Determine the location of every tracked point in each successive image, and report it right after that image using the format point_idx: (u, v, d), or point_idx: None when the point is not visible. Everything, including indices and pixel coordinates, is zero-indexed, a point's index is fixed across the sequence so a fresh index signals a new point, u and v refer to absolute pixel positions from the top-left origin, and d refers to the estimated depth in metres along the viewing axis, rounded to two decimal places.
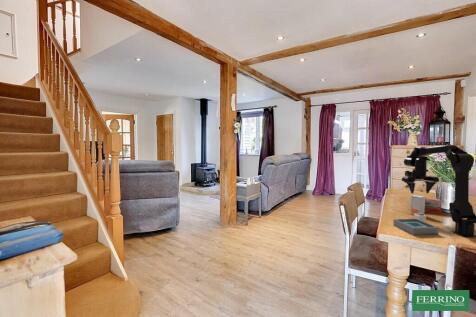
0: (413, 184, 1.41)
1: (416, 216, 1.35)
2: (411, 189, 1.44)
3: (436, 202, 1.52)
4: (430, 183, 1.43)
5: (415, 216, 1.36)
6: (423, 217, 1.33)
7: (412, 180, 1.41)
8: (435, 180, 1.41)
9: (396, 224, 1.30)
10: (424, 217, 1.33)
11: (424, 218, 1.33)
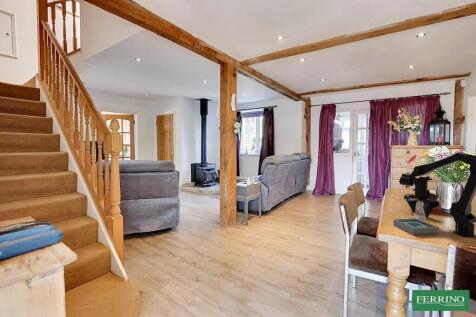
0: (407, 201, 1.40)
1: (416, 216, 1.35)
2: None
3: None
4: None
5: (415, 216, 1.36)
6: (423, 217, 1.33)
7: (406, 197, 1.41)
8: (425, 203, 1.28)
9: (396, 224, 1.30)
10: (424, 217, 1.33)
11: (424, 218, 1.33)
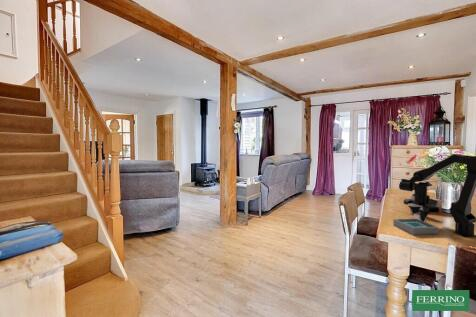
0: (410, 208, 1.38)
1: (416, 216, 1.35)
2: None
3: None
4: None
5: (415, 216, 1.36)
6: None
7: (405, 202, 1.41)
8: (424, 209, 1.28)
9: (396, 224, 1.30)
10: None
11: None
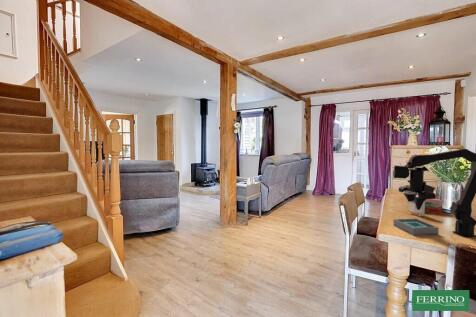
0: (405, 195, 1.29)
1: (411, 204, 1.25)
2: None
3: (437, 202, 1.51)
4: None
5: (410, 204, 1.26)
6: None
7: (400, 189, 1.32)
8: (420, 196, 1.18)
9: (396, 224, 1.30)
10: None
11: None
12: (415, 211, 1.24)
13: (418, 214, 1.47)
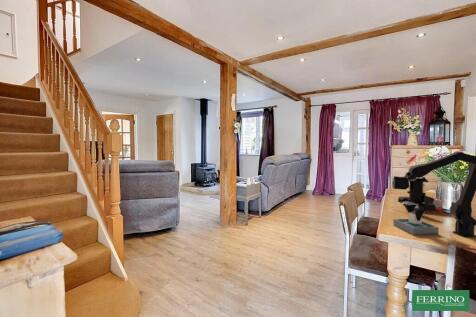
0: (405, 206, 1.28)
1: (411, 215, 1.25)
2: None
3: (437, 202, 1.51)
4: None
5: (410, 215, 1.26)
6: None
7: (400, 200, 1.31)
8: (420, 207, 1.18)
9: (396, 224, 1.30)
10: None
11: None
12: (415, 222, 1.23)
13: None
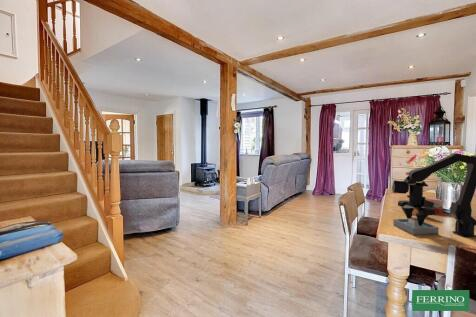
0: (403, 209, 1.30)
1: (411, 221, 1.25)
2: None
3: (437, 202, 1.51)
4: None
5: (410, 221, 1.26)
6: None
7: (400, 204, 1.31)
8: (420, 212, 1.18)
9: (396, 224, 1.30)
10: None
11: None
12: None
13: None
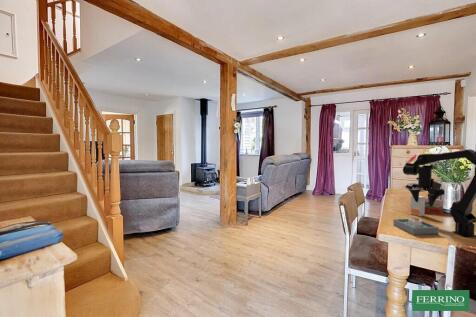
0: (410, 191, 1.39)
1: (411, 221, 1.25)
2: None
3: (438, 202, 1.51)
4: None
5: (410, 221, 1.26)
6: (418, 222, 1.23)
7: (409, 186, 1.40)
8: (430, 192, 1.26)
9: (396, 224, 1.30)
10: (419, 222, 1.23)
11: (419, 223, 1.23)
12: None
13: (418, 214, 1.47)
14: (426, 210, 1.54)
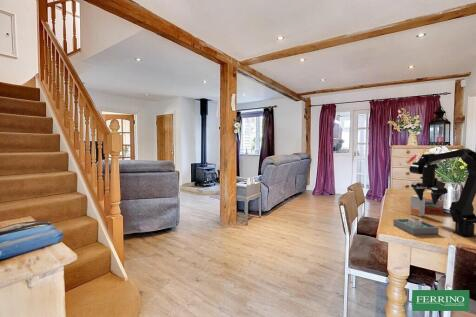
0: (415, 190, 1.42)
1: (411, 221, 1.25)
2: None
3: (438, 202, 1.51)
4: None
5: (410, 221, 1.26)
6: (418, 222, 1.23)
7: (413, 185, 1.43)
8: (433, 191, 1.29)
9: (396, 224, 1.30)
10: (419, 222, 1.23)
11: (419, 223, 1.23)
12: None
13: (418, 214, 1.47)
14: (426, 210, 1.54)
